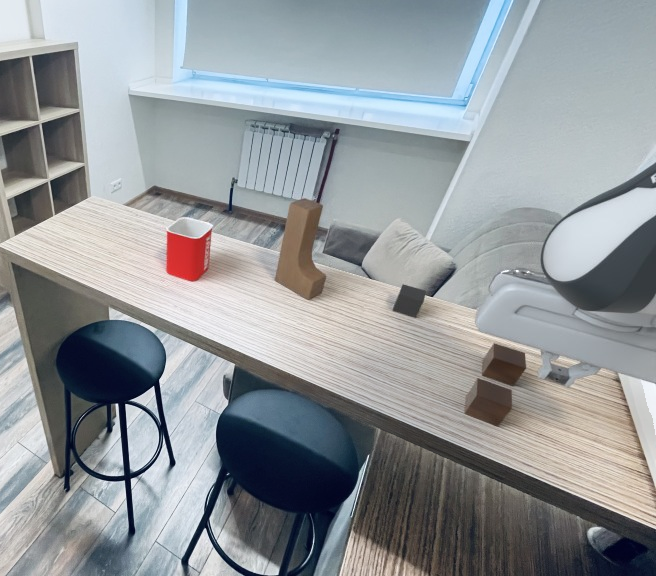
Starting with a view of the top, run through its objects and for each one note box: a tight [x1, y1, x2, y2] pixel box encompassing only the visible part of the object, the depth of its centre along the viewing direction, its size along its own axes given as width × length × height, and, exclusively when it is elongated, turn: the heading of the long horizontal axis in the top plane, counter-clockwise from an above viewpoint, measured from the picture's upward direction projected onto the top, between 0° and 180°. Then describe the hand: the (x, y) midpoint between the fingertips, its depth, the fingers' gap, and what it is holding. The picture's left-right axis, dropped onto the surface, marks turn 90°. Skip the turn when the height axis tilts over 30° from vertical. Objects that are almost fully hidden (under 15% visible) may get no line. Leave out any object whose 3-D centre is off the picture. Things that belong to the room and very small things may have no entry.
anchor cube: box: [392, 284, 427, 319], centre depth 78 cm, size 4×4×4 cm
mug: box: [165, 216, 214, 282], centre depth 90 cm, size 12×8×11 cm
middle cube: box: [481, 342, 527, 387], centre depth 64 cm, size 4×4×4 cm
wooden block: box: [274, 197, 328, 301], centre depth 81 cm, size 9×4×18 cm, turn 34°
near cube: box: [464, 377, 513, 428], centre depth 58 cm, size 4×4×4 cm
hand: (552, 379), depth 52 cm, fingers closed
